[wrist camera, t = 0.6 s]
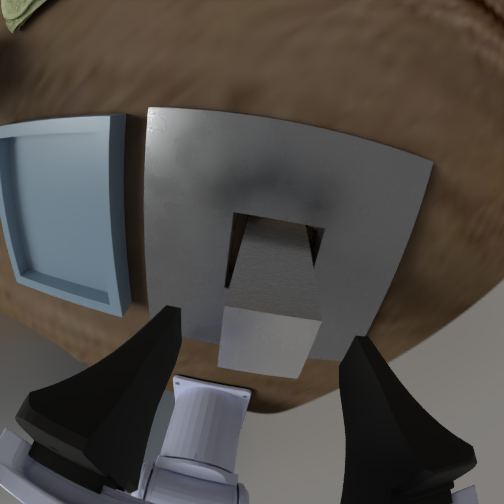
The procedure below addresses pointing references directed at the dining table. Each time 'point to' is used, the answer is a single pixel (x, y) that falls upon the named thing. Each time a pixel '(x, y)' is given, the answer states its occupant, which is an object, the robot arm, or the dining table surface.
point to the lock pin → (271, 301)
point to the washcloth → (18, 12)
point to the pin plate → (274, 213)
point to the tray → (67, 208)
